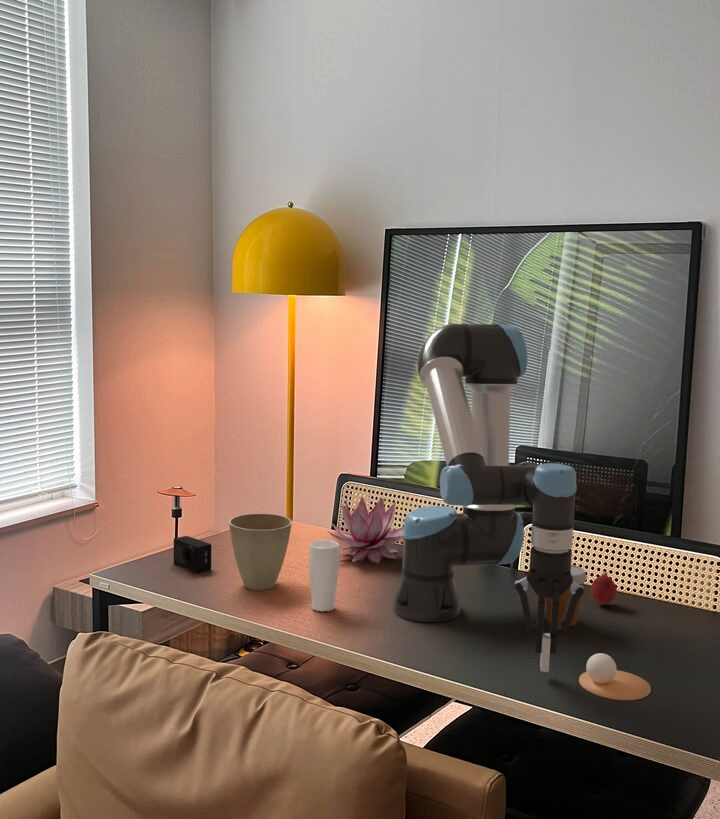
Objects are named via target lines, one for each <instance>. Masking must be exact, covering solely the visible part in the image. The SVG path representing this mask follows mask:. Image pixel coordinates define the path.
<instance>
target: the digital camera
mask: <svg viewBox="0 0 720 819" xmlns="http://www.w3.org/2000/svg"><path fill="white" fill-rule="evenodd" d="M173 565H175V566H177V567H179V568H182V569H184V570H187V571H190V572H193V573H195V574H202V573H206V572H210V571H212V544H211V543H208V542H206V541H203V540H201V539H197V538H195V537H192V536H189V535H184V536H179V537H174V538H173Z"/></svg>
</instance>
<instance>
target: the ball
mask: <svg viewBox="0 0 720 819" xmlns="http://www.w3.org/2000/svg"><path fill="white" fill-rule="evenodd" d="M585 668H586V669H585V670H586V672H587V673H588V676H589V677H590V678H591V679H592V680H593V681H595V682H597V683H600V684H605V683H608V682H610V681H611V680H612V679H613V678H614V677H615V675H616V670H618V669H617V664H616V662H615V660H614V659H613V658H612V656H610V655H608V654H607V653H602V652H601V653H600V652H599V653H598V652H597V653H595V654H593V655H592V656H591V655H590V657H589V659H588V660H587V662H586V667H585Z"/></svg>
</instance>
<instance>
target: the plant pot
mask: <svg viewBox="0 0 720 819" xmlns="http://www.w3.org/2000/svg"><path fill="white" fill-rule="evenodd" d="M292 524H293V521H292V519H291V518H289V517H287V516H285V515H281V514H274V513H258V512H257V513H247V514H239V515H237V516H233V517H232V518H230V519H229V521H228V525H229V532H230V533H229V534H230V539H231V545H232V549H233V550H232V551H233V553H234V554H233V555H234V558H235V561H236V566H237V569H238V572H239V575H240V578H241V581H242V583H243V585H244V587H245V588H247V589H249V590H253V591H254V590H255V591H264V590H265V589H266V590H269V589H272V588H274V587H275V585H276V583H277V580H278V578H279V576H280V573H281V570H282V566H283V563H284V560H285V557H286V554H287V549H288V547H289V546H288V545H289V541H290V537H291V532H292V531H291V529H292ZM266 590H265V591H266Z"/></svg>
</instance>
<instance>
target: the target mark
mask: <svg viewBox="0 0 720 819" xmlns="http://www.w3.org/2000/svg"><path fill="white" fill-rule="evenodd" d="M578 683H579V685H580V686H581V688H583V689H584V690H585V691H587V692H589V693H590V694H593V695H595V696H598V697H602V698H604V699H609V700H614V701H615V700H616V701H636V700H640V699H644V698H646V697H648V696H649V695H650V694H651V691H652V689H651V685H650V684H649V682H648V681H647V680H645V679H643V678H642V677H640V676H638V675H636V674H633V673H631V672H627V671H623V670H619V669H617V670H616V675H615V677H614V678H613V679H612V680H611V681H610V682H608V683H605V684H600V683H597V682H595V681H593V680H592V679H591V678H590V677H589V676H588V673H587V671H584V672H582V673H581V674H580V675H579V677H578Z"/></svg>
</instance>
